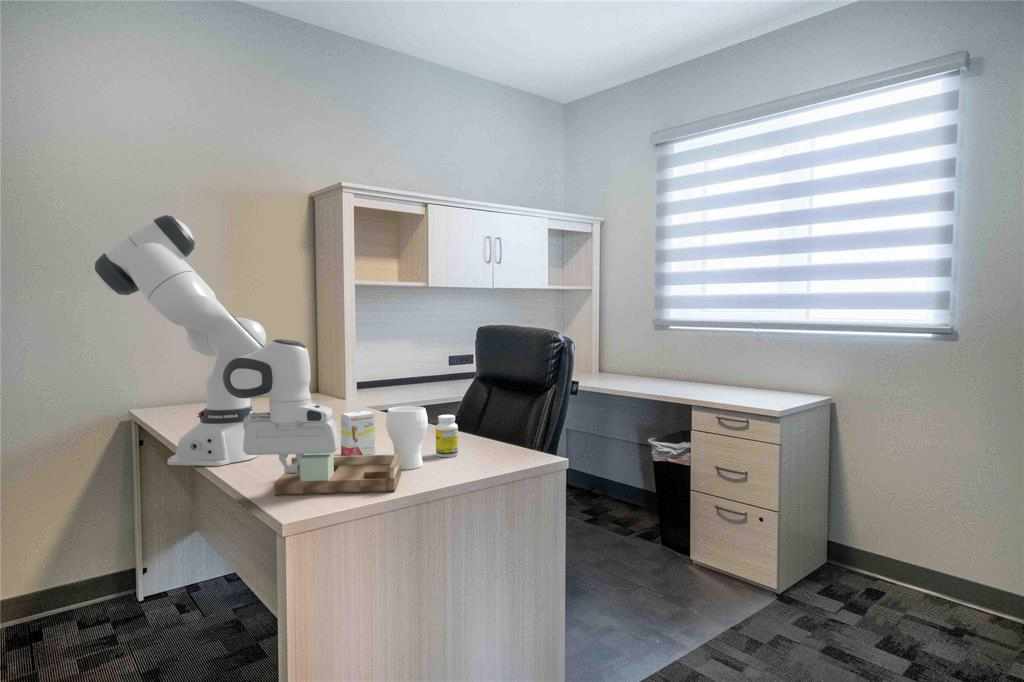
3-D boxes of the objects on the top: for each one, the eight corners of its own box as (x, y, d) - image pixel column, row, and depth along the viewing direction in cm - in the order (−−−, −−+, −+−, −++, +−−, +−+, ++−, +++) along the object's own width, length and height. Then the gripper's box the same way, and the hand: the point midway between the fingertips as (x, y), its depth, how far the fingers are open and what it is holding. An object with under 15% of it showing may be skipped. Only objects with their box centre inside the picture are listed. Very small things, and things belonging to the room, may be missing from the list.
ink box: (348, 458, 169) (347, 415, 169) (340, 455, 173) (339, 413, 172) (376, 453, 175) (375, 412, 174) (368, 450, 178) (367, 410, 178)
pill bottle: (436, 452, 175) (435, 414, 174) (458, 452, 175) (457, 413, 175) (435, 458, 169) (435, 418, 168) (458, 457, 169) (457, 417, 169)
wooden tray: (274, 496, 135) (273, 471, 135) (293, 477, 150) (292, 455, 150) (394, 492, 137) (394, 467, 137) (400, 474, 152) (400, 452, 152)
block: (300, 481, 136) (299, 458, 135) (307, 474, 142) (306, 452, 141) (328, 480, 136) (327, 458, 136) (333, 473, 142) (333, 452, 142)
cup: (380, 465, 161) (378, 408, 160) (416, 459, 168) (415, 404, 167) (398, 473, 153) (397, 413, 152) (435, 466, 159) (435, 409, 158)
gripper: (237, 415, 134) (239, 478, 134) (333, 413, 135) (334, 475, 136) (247, 410, 140) (249, 470, 140) (339, 409, 141) (340, 468, 142)
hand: (292, 473), depth 138 cm, fingers closed
